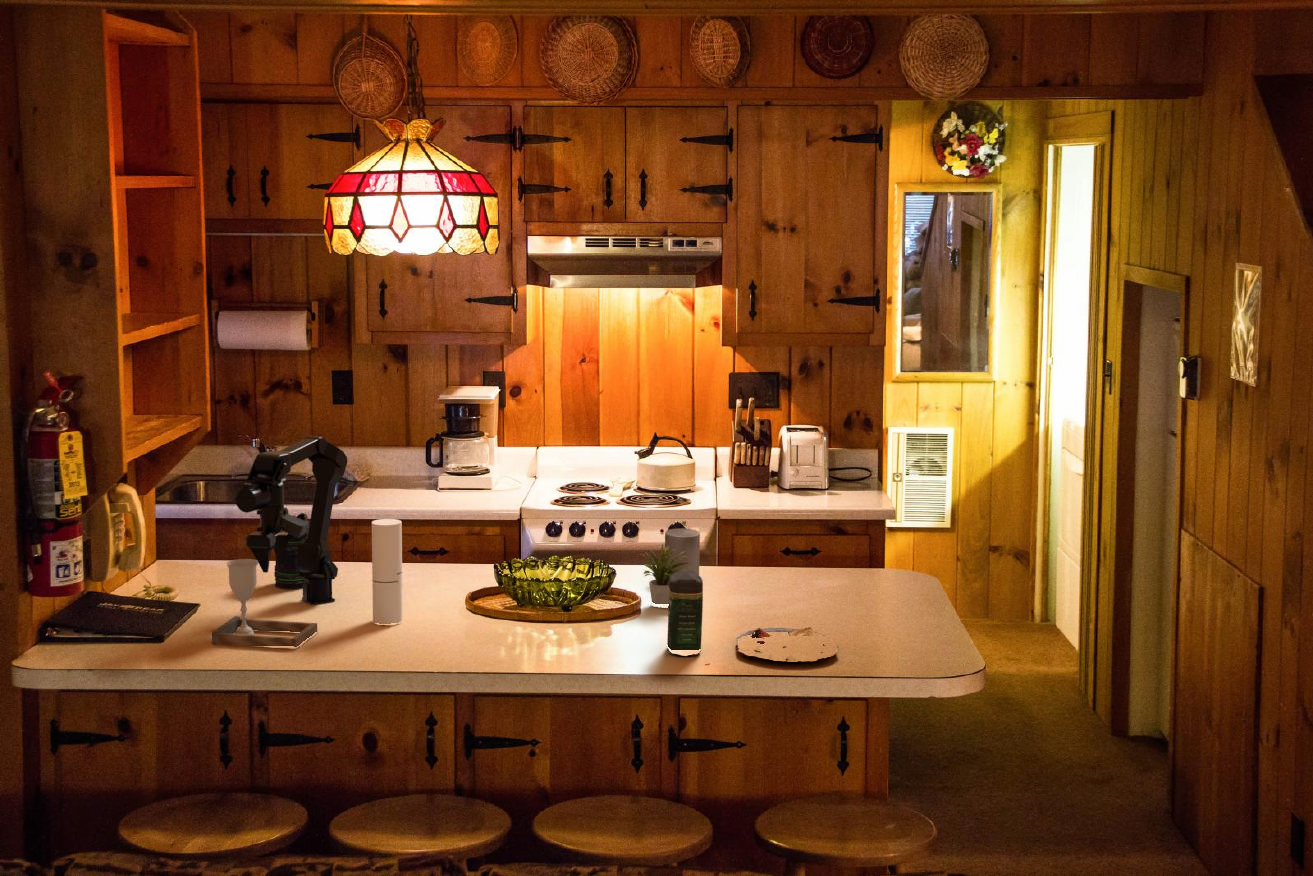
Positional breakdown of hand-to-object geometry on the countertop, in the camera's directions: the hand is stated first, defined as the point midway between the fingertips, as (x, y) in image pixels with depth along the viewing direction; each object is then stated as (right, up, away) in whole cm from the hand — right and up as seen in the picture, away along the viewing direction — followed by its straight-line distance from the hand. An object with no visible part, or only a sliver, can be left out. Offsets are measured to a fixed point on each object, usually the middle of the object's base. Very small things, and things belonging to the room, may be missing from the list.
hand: (273, 567), depth 355 cm
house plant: (+94, -12, +20) cm, 97 cm away
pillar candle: (+100, -8, +46) cm, 111 cm away
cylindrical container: (+28, -14, +2) cm, 31 cm away
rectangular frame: (+2, -15, -14) cm, 21 cm away
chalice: (-3, -15, -13) cm, 20 cm away
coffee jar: (+100, -18, -17) cm, 103 cm away
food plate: (+124, -19, -15) cm, 126 cm away
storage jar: (-4, -8, +34) cm, 35 cm away
